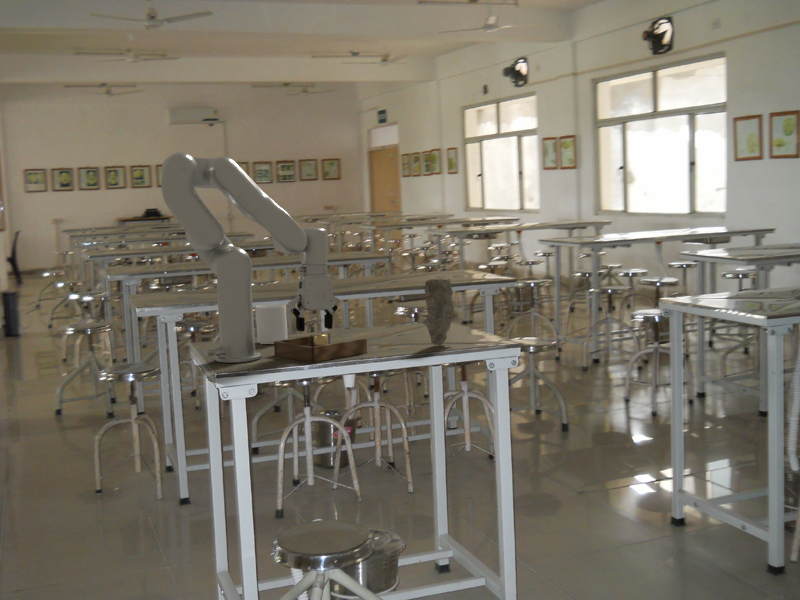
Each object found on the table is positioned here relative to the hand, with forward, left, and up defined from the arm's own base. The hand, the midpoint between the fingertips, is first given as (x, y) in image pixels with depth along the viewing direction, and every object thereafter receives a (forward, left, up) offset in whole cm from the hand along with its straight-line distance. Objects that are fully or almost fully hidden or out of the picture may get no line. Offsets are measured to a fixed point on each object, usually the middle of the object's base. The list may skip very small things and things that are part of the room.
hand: (314, 329), depth 236 cm
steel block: (0, -2, -6) cm, 7 cm away
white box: (+2, +26, -7) cm, 27 cm away
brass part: (-4, -8, -6) cm, 11 cm away
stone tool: (+29, -23, -7) cm, 37 cm away
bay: (-2, -5, -6) cm, 8 cm away
